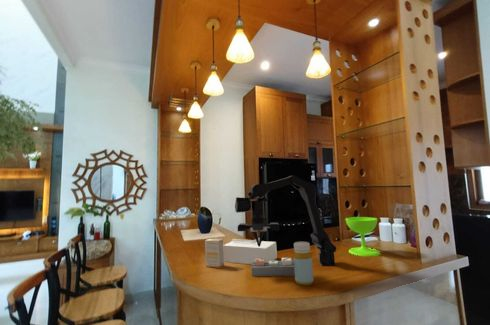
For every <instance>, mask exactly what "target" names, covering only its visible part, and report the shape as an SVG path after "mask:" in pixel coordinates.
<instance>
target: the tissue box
mask: <svg viewBox="0 0 490 325" xmlns="http://www.w3.org/2000/svg"><path fill="white" fill-rule="evenodd" d="M258 238H259V239H260V237H258ZM223 252H224V263H233V264H241V265H242V264H244V265H251V266H252V263H253V262H255V259H261V258H264V261H276V259H278V253H277V252H278V251H277V242H276V241H264V240H262V241H261V245H260V247H258V244H257V241H256V239H253V240H252V239H241V238H240V239H239V238H232V239H231V241H229V242H227V243H225V244H223Z"/></svg>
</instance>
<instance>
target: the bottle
mask: <svg viewBox="0 0 490 325" xmlns="http://www.w3.org/2000/svg"><path fill="white" fill-rule="evenodd" d="M293 251H294V253H293V261H294V270H295V275H294V280H295V282H296V284H298V285H299V286H305V287H306V286H311V285H312V284H313V283H314V270H313V269H314V268H313V258H312V252H311V246H310V242H308V241H295V242H294V243H293Z"/></svg>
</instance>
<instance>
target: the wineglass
mask: <svg viewBox="0 0 490 325" xmlns="http://www.w3.org/2000/svg"><path fill="white" fill-rule="evenodd" d="M345 223H346V225H347V227H348V228H349V229H350V230H351V231H353V232H354V233H356V234H360V242H361V246H358V247H352V248H350V249H349V250H348V253H349V254H350V253H351V254H350V255H353V254H354V255H353V256H357V255H358V256H357V257H367V258H368V257H378V256H380V255H382V252H381V251H380V250H379V249H377V250H376V248H373V249H371V248H372V247H367V246H366V238H365V237H366V236H365V235H366V234H370V233H371V232H373V231H374V230H375V228H376V227H377V224H378V218H377V217H368V216H354V217H346V218H345ZM378 250H379V251H378ZM380 252H381V253H380Z"/></svg>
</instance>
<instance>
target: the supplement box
mask: <svg viewBox="0 0 490 325" xmlns="http://www.w3.org/2000/svg"><path fill="white" fill-rule="evenodd" d="M223 245H224V239H223V238H207V239H205V240H204V246H205V247H204V249H205V268H206V267H207V268H217V269H218V268H219V269H220V268H222V267H224V266H225V262H224V252H223Z"/></svg>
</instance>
